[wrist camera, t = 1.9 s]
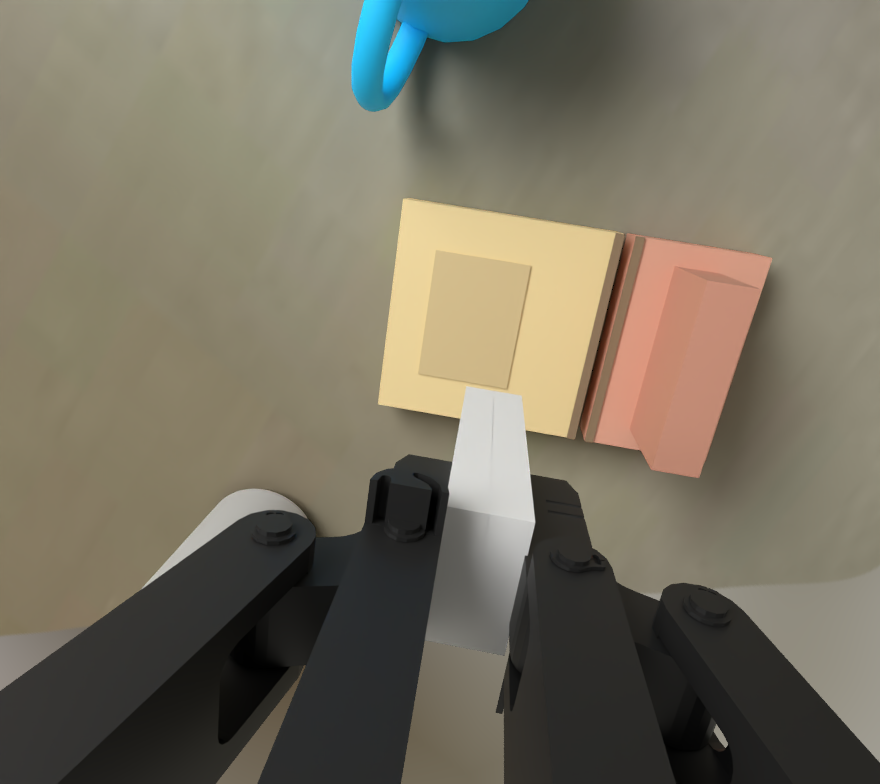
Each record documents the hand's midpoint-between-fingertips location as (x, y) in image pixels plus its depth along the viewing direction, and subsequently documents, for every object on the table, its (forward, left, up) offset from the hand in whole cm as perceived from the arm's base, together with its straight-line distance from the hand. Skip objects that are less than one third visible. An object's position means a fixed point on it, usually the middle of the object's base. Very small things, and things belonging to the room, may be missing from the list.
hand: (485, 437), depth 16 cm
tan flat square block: (0, 0, -15) cm, 15 cm away
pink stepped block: (0, +8, -15) cm, 17 cm away
